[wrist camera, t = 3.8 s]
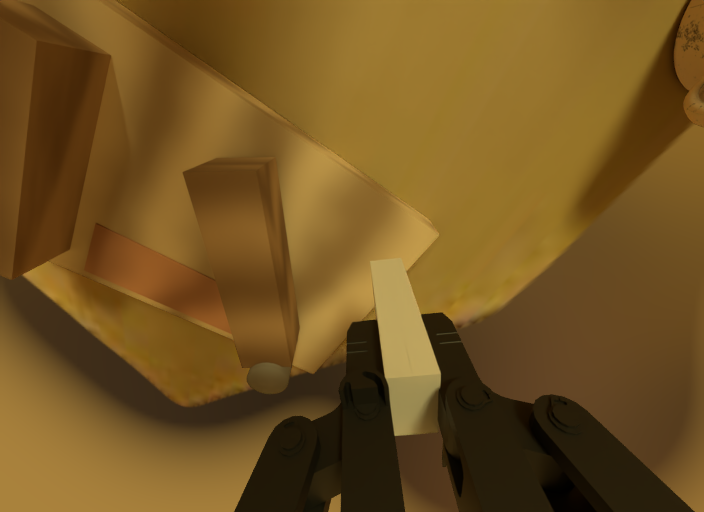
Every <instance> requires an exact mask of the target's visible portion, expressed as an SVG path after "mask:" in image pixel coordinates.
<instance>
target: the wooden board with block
mask: <svg viewBox="0 0 704 512" xmlns="http://www.w3.org/2000/svg"><path fill="white" fill-rule="evenodd" d="M238 157H276V163H277V170H278V177H279V184H280V191H281V198H282V205H283V212H284V219H285V226H286V233H287V240H288V247H289V255H290V262H291V269H292V276H293V283H294V290H295V297H296V304H297V311H298V318H299V325H300V330H299V335H298V341H297V345H296V350H295V354H294V359H293V363H292V365H293V366H295V367H298V368H300V369H302V370H305V371H307V372H309V373H312V374H314V373H315V372H316V371H317V369H318V368H319V367H320V366H321V365H322V364H323V363H324V362H325V361H326V360H327V358H328V357H329V356H330V355H331V354H332V353H333V352H334V351H335V350H336V348H337V347H338V346H339V345H340V344H341V343H342V342H343V341H344V340H345V339H346V337H347V331H348V329H349V327H350V325H351V323H352V322H357V321H362V320H363V319H364V318H365V317H366V315H367V314H368V313H369V312H370V311H371V310H372V309H373V308H374V307H375V304H374V295H373V285H372V275H371V266H370V261H376V260H385V259H394V258H401V259H402V262H403V264H404V267H405V270H406V271H407V270H408V269H409V268H410V267H411V266H412V265H413V264H414V262H415V261H416V260H417V259H418V258H419V257H420V256H421V255H422V254H423V253H424V251H425V250H426V249H427V248H428V247H429V246H430V245H431V244H432V243H433V242H434V240H435V239H436V238H437V237H438V236H439V233H438V232H437V230H436V229H435V227H434V226H433V224H432V223H431V221H430V220H429V219H428V218H426V217H425V216H423V215H422V214H421V213H419V212H418V211H416V210H415V209H413V208H412V207H411V206H409V205H408V204H406V203H405V202H403V201H402V200H401V199H399V198H398V197H396V196H395V195H393V194H392V193H391V192H389V191H388V190H386V189H385V188H383V187H382V186H381V185H379V184H378V183H376V182H375V181H373V180H372V179H371V178H369V177H368V176H366V175H365V174H363V173H362V172H360V171H359V170H358V169H356V168H355V167H353V166H352V165H350V164H349V163H348V162H346V161H345V160H343V159H342V158H340V157H339V156H338V155H336V154H335V153H333V152H332V151H330V150H329V149H328V148H326V147H325V146H323V145H322V144H320V143H319V142H318V141H316V140H315V139H313V138H312V137H310V136H309V135H308V134H306V133H305V132H303V131H302V130H300V129H299V128H297V127H296V126H295V125H293V124H292V123H290V122H289V121H287V120H286V119H285V118H283V117H282V116H280V115H279V114H277V113H276V112H275V111H273V110H272V109H270V108H269V107H267V106H266V105H265V104H263V103H262V102H260V101H259V100H257V99H256V98H255V97H253V96H252V95H250V94H249V93H247V92H246V91H245V90H243V89H242V88H240V87H239V86H237V85H236V84H234V83H233V82H232V81H230V80H229V79H227V78H226V77H224V76H223V75H222V74H220V73H219V72H217V71H216V70H214V69H213V68H212V67H210V66H209V65H207V64H206V63H204V62H203V61H202V60H200V59H199V58H197V57H196V56H194V55H193V54H192V53H190V52H189V51H187V50H186V49H184V48H183V47H181V46H180V45H179V44H177V43H176V42H174V41H173V40H171V39H170V38H169V37H167V36H166V35H164V34H163V33H161V32H160V31H159V30H157V29H156V28H154V27H153V26H151V25H150V24H149V23H147V22H146V21H144V20H143V19H141V18H140V17H139V16H137V15H136V14H134V13H133V12H131V11H130V10H129V9H127V8H126V7H124V6H123V5H121V4H120V3H118V2H117V1H116V0H0V275H1V276H3V277H6V278H8V279H11V280H12V279H14V278H16V277H18V276H20V275H22V274H24V273H26V272H28V271H30V270H32V269H34V268H35V267H37V266H39V265H41V264H43V263H45V262H47V261H49V262H51V263H54V264H56V265H59V266H61V267H63V268H66V269H68V270H70V271H73V272H75V273H77V274H80V275H82V276H84V277H87V278H89V279H91V280H94V281H96V282H98V283H101V284H103V285H105V286H108V287H110V288H112V289H115V290H117V291H119V292H122V293H124V294H126V295H129V296H131V297H134V298H136V299H138V300H141V301H143V302H145V303H148V304H150V305H152V306H155V307H157V308H159V309H162V310H164V311H166V312H169V313H171V314H173V315H176V316H178V317H180V318H183V319H185V320H187V321H190V322H192V323H194V324H197V325H199V326H201V327H204V328H206V329H209V330H211V331H213V332H216V333H218V334H220V335H223V336H225V337H227V338H230V339H232V340H234V339H233V336H232V333H231V330H230V326H229V323H228V320H227V317H226V313H225V310H224V307H223V303H222V300H221V297H220V294H219V290H218V287H217V284H216V281H215V277H214V274H213V271H212V267H211V264H210V261H209V258H208V254H207V251H206V248H205V245H204V241H203V238H202V235H201V231H200V228H199V225H198V222H197V218H196V215H195V212H194V209H193V205H192V202H191V199H190V195H189V192H188V189H187V186H186V182H185V179H184V176H183V173H182V172H184V171H186V170H189V169H191V168H194V167H196V166H198V165H201V164H203V163H206V162H208V161H211V160H213V159H215V158H238Z"/></svg>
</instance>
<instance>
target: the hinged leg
mask: <svg viewBox="0 0 704 512" xmlns="http://www.w3.org/2000/svg"><path fill="white" fill-rule="evenodd" d="M182 173H183V176H184V179H185V182H186V186H187V189H188V192H189V195H190V199H191V202H192V205H193V209H194V212H195V215H196V218H197V222H198V225H199V228H200V231H201V235H202V238H203V241H204V245H205V248H206V251H207V254H208V258H209V261H210V264H211V267H212V271H213V274H214V277H215V281H216V284H217V287H218V290H219V294H220V297H221V300H222V303H223V307H224V310H225V313H226V317H227V320H228V323H229V326H230V330H231V333H232V336H233V339H234V343H235V346H236V349H237V353H238V356H239V359H240V362H241V366H242V368H250V370H249V373H248V375H247V382H248V384H249V386H250V387H251V388H253V389H254V390H256V391H258V392H260V393H265V394H276V393H279V392H282V391H283V390H284V389H285V388H286V387H287V385H288V381H289V377H290V372H291V368H292V363H293V359H294V354H295V350H296V345H297V341H298V335H299V330H300V325H299V318H298V311H297V304H296V297H295V290H294V283H293V276H292V269H291V262H290V255H289V247H288V240H287V233H286V226H285V219H284V212H283V205H282V198H281V191H280V184H279V177H278V170H277V163H276V157H238V158H215V159H213V160H211V161H208V162H206V163H203V164H201V165H198V166H196V167H194V168H191V169H189V170H186V171H184V172H182Z"/></svg>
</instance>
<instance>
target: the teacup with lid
mask: <svg viewBox="0 0 704 512" xmlns="http://www.w3.org/2000/svg"><path fill="white" fill-rule="evenodd" d="M674 66H675V70H676V74H677V76H678V78H679V80H680V82H681V83H682V85H683V86H684V87H685V88H686V89H687V90H689V92H688V93H687V95H686V97H685V99H684V102H683V108H684V111H685V113H686V115H687V117H688V119H689V120H690V121H691V122H693V123H694V124H696V125H698V126H701V127H704V0H691V1H690V3H689V5H688V7H687V9H686V11H685V13H684V16H683V18H682V21H681V23H680V26H679V29H678V32H677V36H676V41H675V47H674Z"/></svg>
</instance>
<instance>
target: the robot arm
mask: <svg viewBox="0 0 704 512" xmlns="http://www.w3.org/2000/svg"><path fill="white" fill-rule="evenodd" d="M370 266H371V275H372V285H373V295H374V304H375V313H376V320H368V321H357V322H352V323H351V325H350V327H349V329H348V331H347V359H346V376H345V377H344V378H343V380H342V381H341V383H340V387H339V394H340V399H341V403H340V405H339V406H338V407H337V408H336V409H335V410H334V411H332V412H331V413H329V414H327V415H325V416H323V417H320V418H318V419H316V420H313V421H311V420H310V419H308V418H305V417H303V416H292V417H290V418H288V419H285V420H283V421H282V422H281V423H280V424H278V425H277V426H276V427H275V428H274V430H273V432H272V433H271V435H270V436H269V438H268V440H267V442H266V444H265V447H264V449H263V451H262V453H261V455H260V457H259V459H258V462H257V464H256V466H255V468H254V470H253V472H252V475H251V477H250V479H249V481H248V483H247V485H246V487H245V490H244V492H243V494H242V496H241V498H240V501H239V502H238V505H237V507H236V509H235V511H234V512H328V510H329V505H330V502H331V498H333V497H335V496H337V495H338V494H340V493H341V512H405V507H404V501H403V494H402V486H401V478H400V471H399V464H398V457H397V449H396V442H395V436H397V435H411V434H423V433H437V432H438V428H439V427H440V431H441V434H442V437H443V450H442V465H443V467H446V465H447V468H448V472H449V475H450V480H451V483H452V487H453V491H454V495H455V498H456V502H457V506H458V509H459V512H694V511H693V510H692V509H691V508H690V507H689V506H688V505H687V504H686V503H685V502H684V501H683V500H681V499H680V498H679V497H678V496H677V495H676V494H675V493H674V492H673V491H672V490H671V489H670V488H669V487H668V486H667V485H665V484H664V483H663V482H662V481H661V480H660V479H659V478H658V477H657V476H656V475H655V474H654V473H653V472H652V471H651V470H650V469H648V468H647V467H646V466H645V465H644V464H643V463H642V462H641V461H640V460H639V459H638V458H637V457H636V456H635V455H633V453H631V452H630V451H629V450H628V449H627V448H626V447H625V446H624V445H623V444H622V443H621V442H620V441H619V440H618V439H617V438H615V437H614V436H613V435H612V434H611V433H610V432H609V431H608V430H607V429H606V428H605V427H604V426H603V425H602V424H601V423H600V422H598V421H597V420H596V419H595V418H594V417H593V416H592V415H591V414H590V413H589V412H588V411H587V410H585V409H584V408H583V407H581V406H580V405H579V404H577V403H576V402H574V401H572V400H570V399H567V398H565V397H562V396H556V395H544V396H541V397H539V398H538V399H537V400H535V403H534V404H531V403H526V402H522V401H517V400H512V399H508V398H505V397H502V396H500V395H498V394H496V393H494V392H493V391H491V389H490V388H488V387H487V386H486V385H484V384H483V383H482V381H481V380H480V378H479V377H478V375H477V373H476V371H475V369H474V367H473V364H472V363H471V360H470V358H469V356H468V354H467V352H466V350H465V348H464V346H463V343H461V339H460V337H459V335H458V334H457V331H456V329H455V327H454V325H453V323H452V321H451V320H450V319H449V318H448V317H447V316H446V315H444V314H443V313H431V314H420V311H419V308H418V305H417V302H416V300H415V297H414V294H413V291H412V288H411V285H410V282H409V279H408V276H407V273H406V270H405V267H404V264H403V262H402V259H401V258H394V259H385V260H376V261H370Z"/></svg>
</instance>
